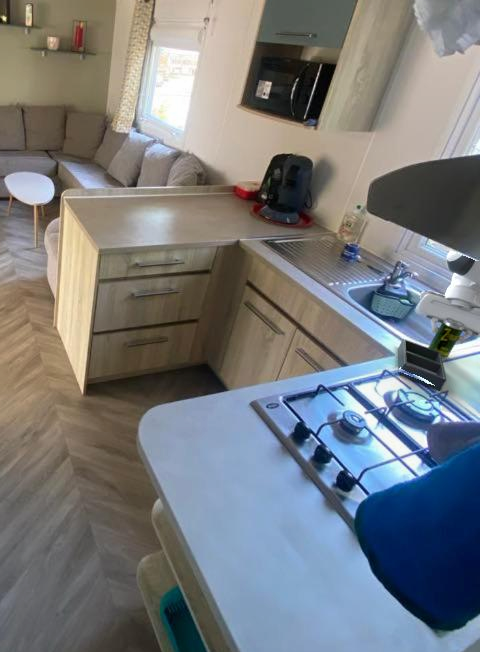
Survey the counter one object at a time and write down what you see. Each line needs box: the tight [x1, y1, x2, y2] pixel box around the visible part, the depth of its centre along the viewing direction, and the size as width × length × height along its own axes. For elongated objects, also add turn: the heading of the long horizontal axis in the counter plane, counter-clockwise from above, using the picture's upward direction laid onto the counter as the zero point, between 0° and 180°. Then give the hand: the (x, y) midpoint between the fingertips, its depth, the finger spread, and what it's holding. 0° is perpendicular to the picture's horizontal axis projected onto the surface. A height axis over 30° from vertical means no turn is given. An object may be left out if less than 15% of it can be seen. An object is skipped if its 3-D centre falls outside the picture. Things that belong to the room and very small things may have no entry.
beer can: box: [427, 318, 465, 359], centre depth 133 cm, size 5×5×12 cm
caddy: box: [397, 338, 447, 392], centre depth 125 cm, size 10×17×4 cm, turn 145°
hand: (446, 337), depth 133 cm, fingers closed on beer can, 5 cm apart
